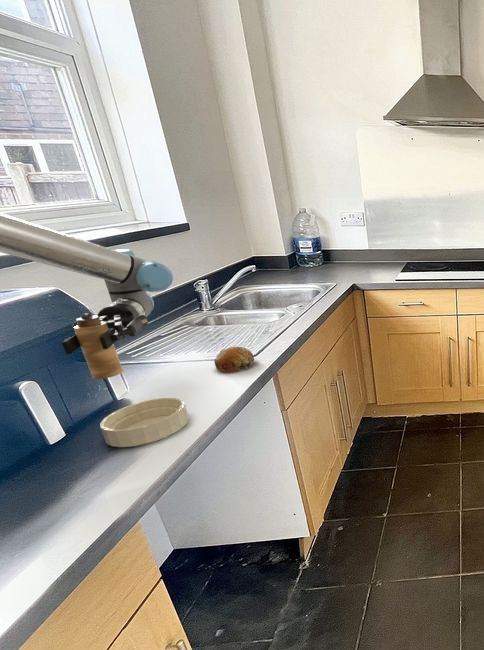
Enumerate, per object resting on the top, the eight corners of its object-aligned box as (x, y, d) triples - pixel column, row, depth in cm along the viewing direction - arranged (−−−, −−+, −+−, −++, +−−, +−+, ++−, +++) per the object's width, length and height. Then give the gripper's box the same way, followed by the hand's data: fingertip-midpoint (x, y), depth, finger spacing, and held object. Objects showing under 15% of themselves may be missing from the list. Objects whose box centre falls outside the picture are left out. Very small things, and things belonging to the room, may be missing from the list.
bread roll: (255, 369, 132) (248, 345, 132) (258, 366, 124) (251, 340, 124) (218, 378, 126) (211, 353, 126) (219, 375, 118) (211, 348, 118)
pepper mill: (88, 381, 92) (64, 318, 87) (97, 372, 96) (74, 312, 91) (119, 376, 94) (97, 315, 89) (126, 367, 98) (105, 309, 93)
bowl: (96, 456, 84) (88, 437, 82) (119, 423, 96) (113, 406, 94) (182, 438, 90) (177, 420, 88) (194, 409, 102) (189, 392, 100)
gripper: (68, 307, 102) (17, 335, 82) (161, 298, 110) (134, 322, 90) (79, 335, 104) (32, 370, 85) (169, 325, 112) (145, 354, 93)
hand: (85, 345), depth 88 cm, fingers closed on pepper mill, 5 cm apart
